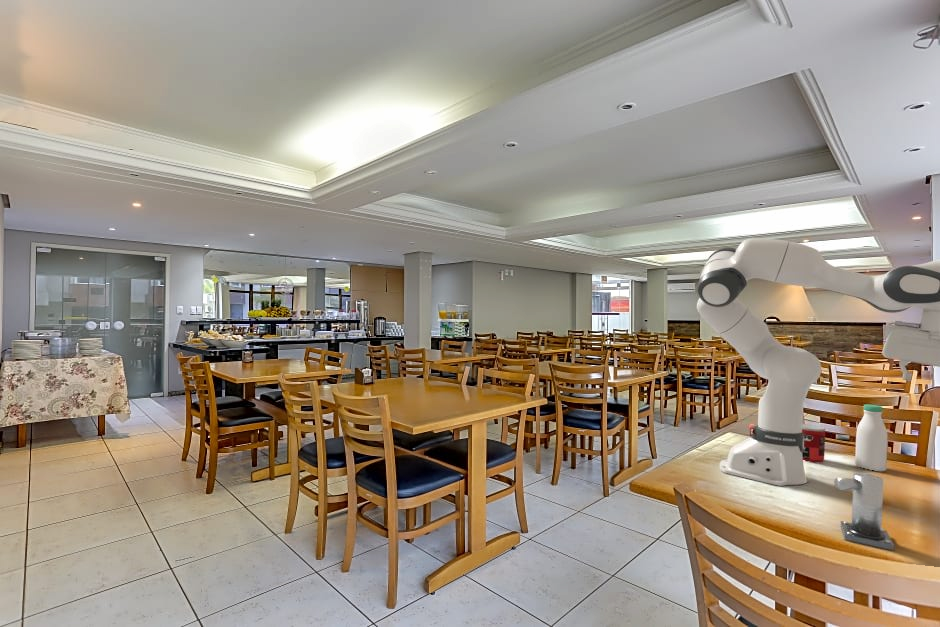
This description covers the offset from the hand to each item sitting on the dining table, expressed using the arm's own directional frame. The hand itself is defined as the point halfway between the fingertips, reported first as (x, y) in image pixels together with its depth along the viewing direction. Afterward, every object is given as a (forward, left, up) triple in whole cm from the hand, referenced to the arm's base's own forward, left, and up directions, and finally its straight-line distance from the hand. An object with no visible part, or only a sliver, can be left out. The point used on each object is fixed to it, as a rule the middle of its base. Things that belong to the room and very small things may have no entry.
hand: (933, 385), depth 111 cm
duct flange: (-13, -17, -33) cm, 39 cm away
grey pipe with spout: (-15, -18, -31) cm, 39 cm away
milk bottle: (-4, +46, -33) cm, 57 cm away
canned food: (-20, +45, -33) cm, 59 cm away
